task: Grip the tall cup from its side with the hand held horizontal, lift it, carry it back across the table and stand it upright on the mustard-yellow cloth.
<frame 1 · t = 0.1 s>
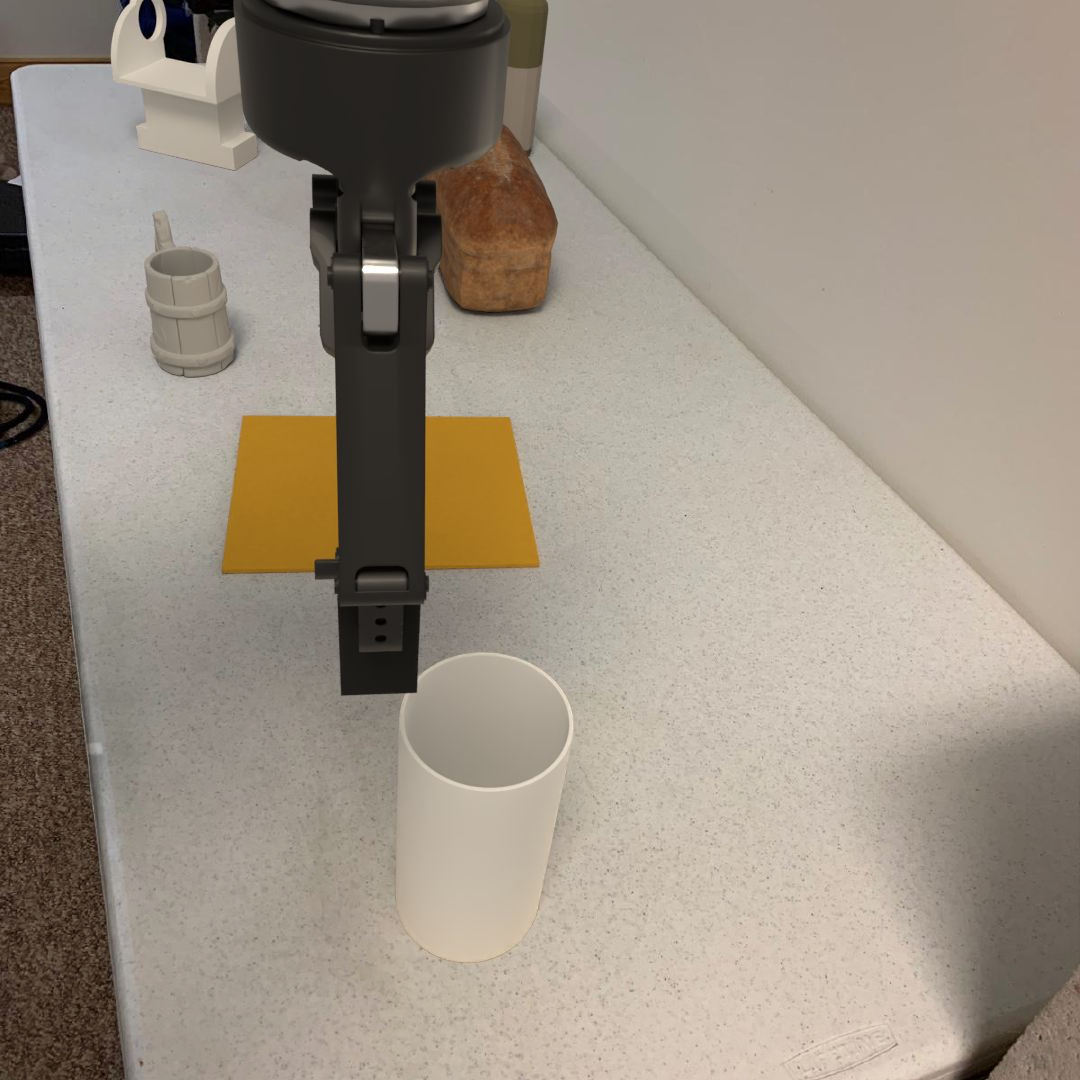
hand: (375, 559, 41), 25 cm above the table, tool pointing down, fingers open, 13 cm apart
bread: (477, 263, 116), on the table
apple: (371, 212, 124), on the table
bottle: (509, 153, 143), on the table
tape dispenser: (202, 151, 132), on the table
cup: (467, 894, 57), on the table
cloth: (382, 488, 83), on the table
mug: (189, 349, 96), on the table
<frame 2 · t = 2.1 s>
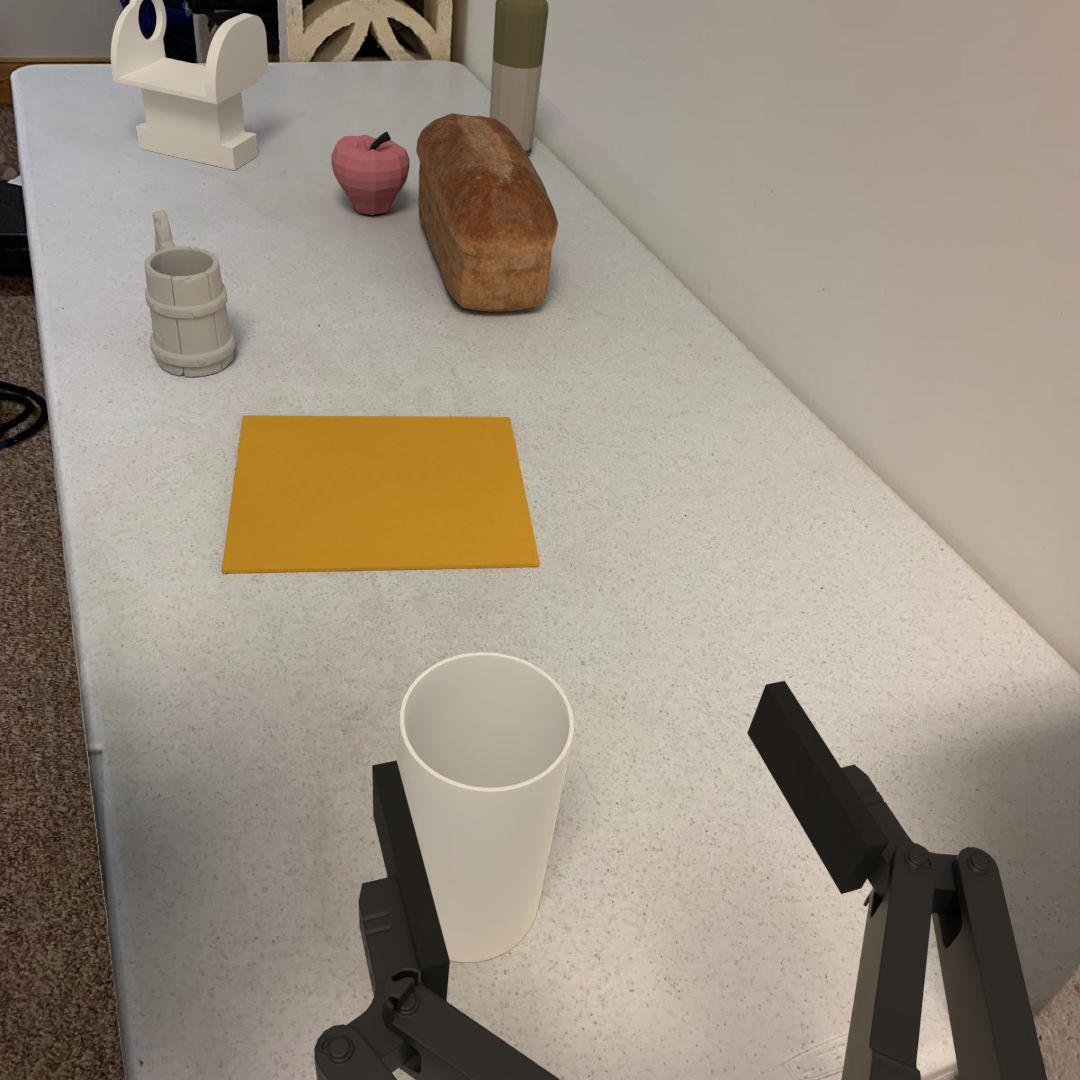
hand: (586, 744, 33), 26 cm above the table, tool horizontal, fingers open, 13 cm apart
nothing on the table moved.
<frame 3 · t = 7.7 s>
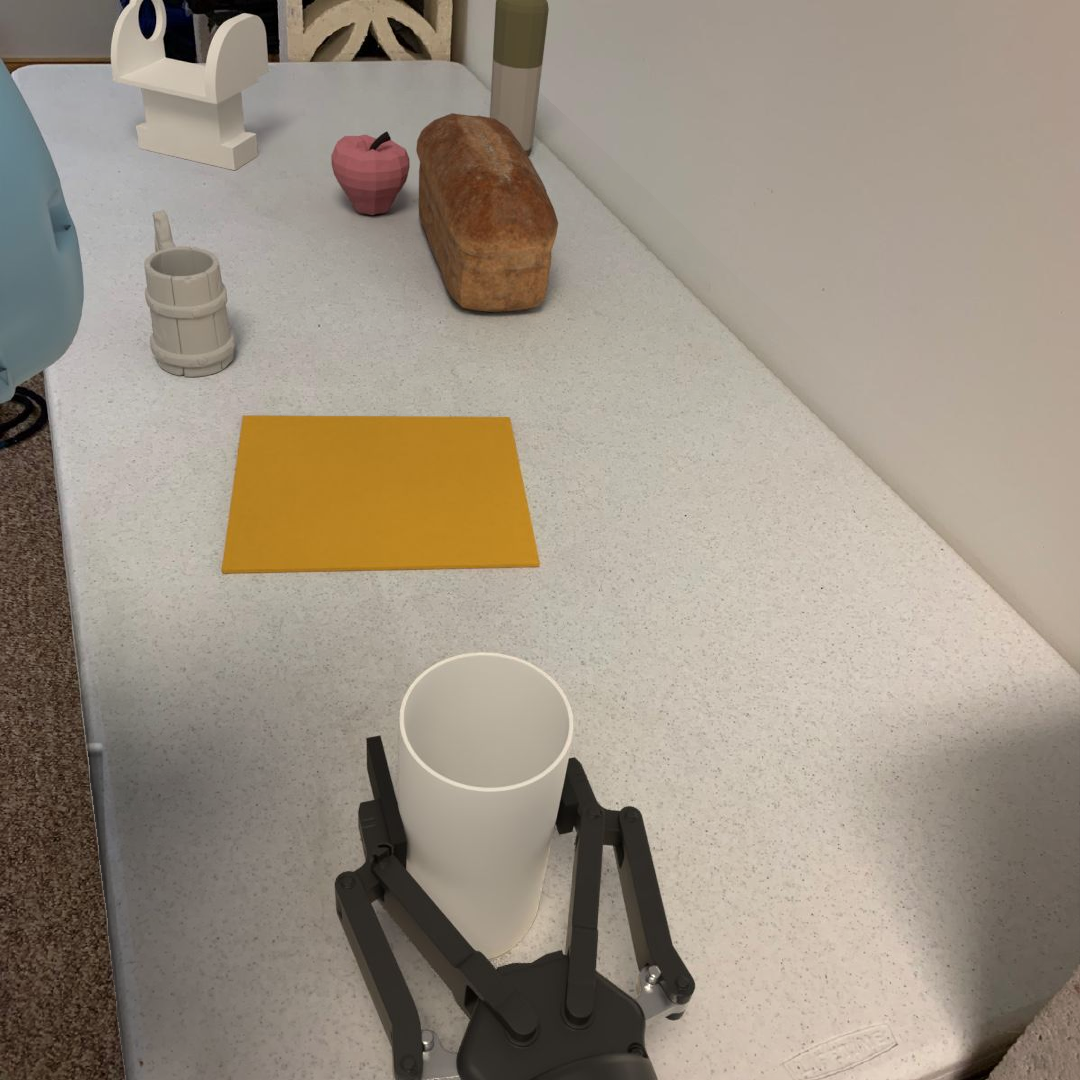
hand: (454, 736, 55), 8 cm above the table, tool horizontal, fingers closed on cup, 8 cm apart
cup: (467, 894, 57), on the table, touching gripper
everything else where it was.
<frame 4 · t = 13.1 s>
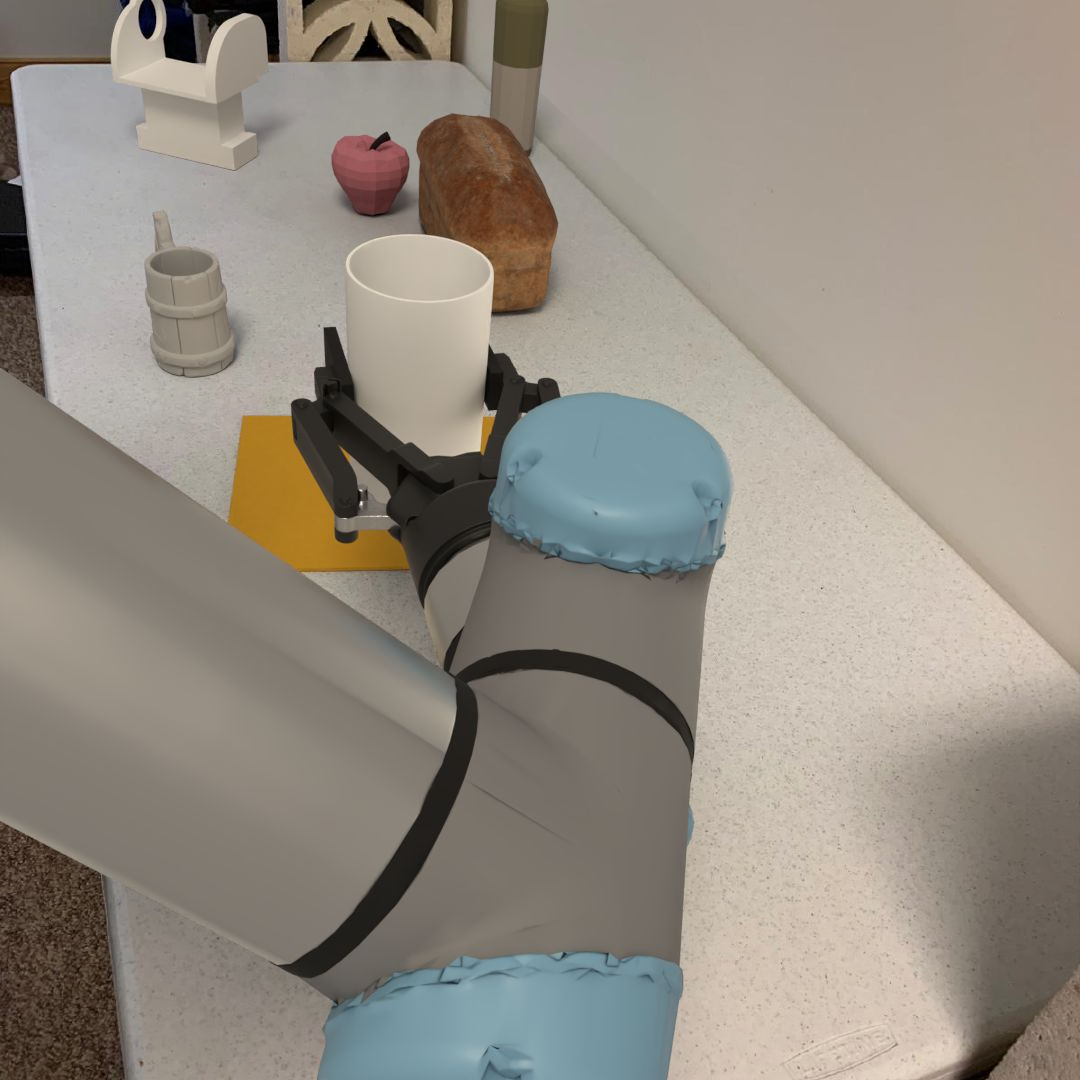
hand: (401, 341, 63), 20 cm above the table, tool horizontal, fingers closed on cup, 8 cm apart
cup: (414, 493, 66), point 11 cm above the table, touching gripper
everything else where it was.
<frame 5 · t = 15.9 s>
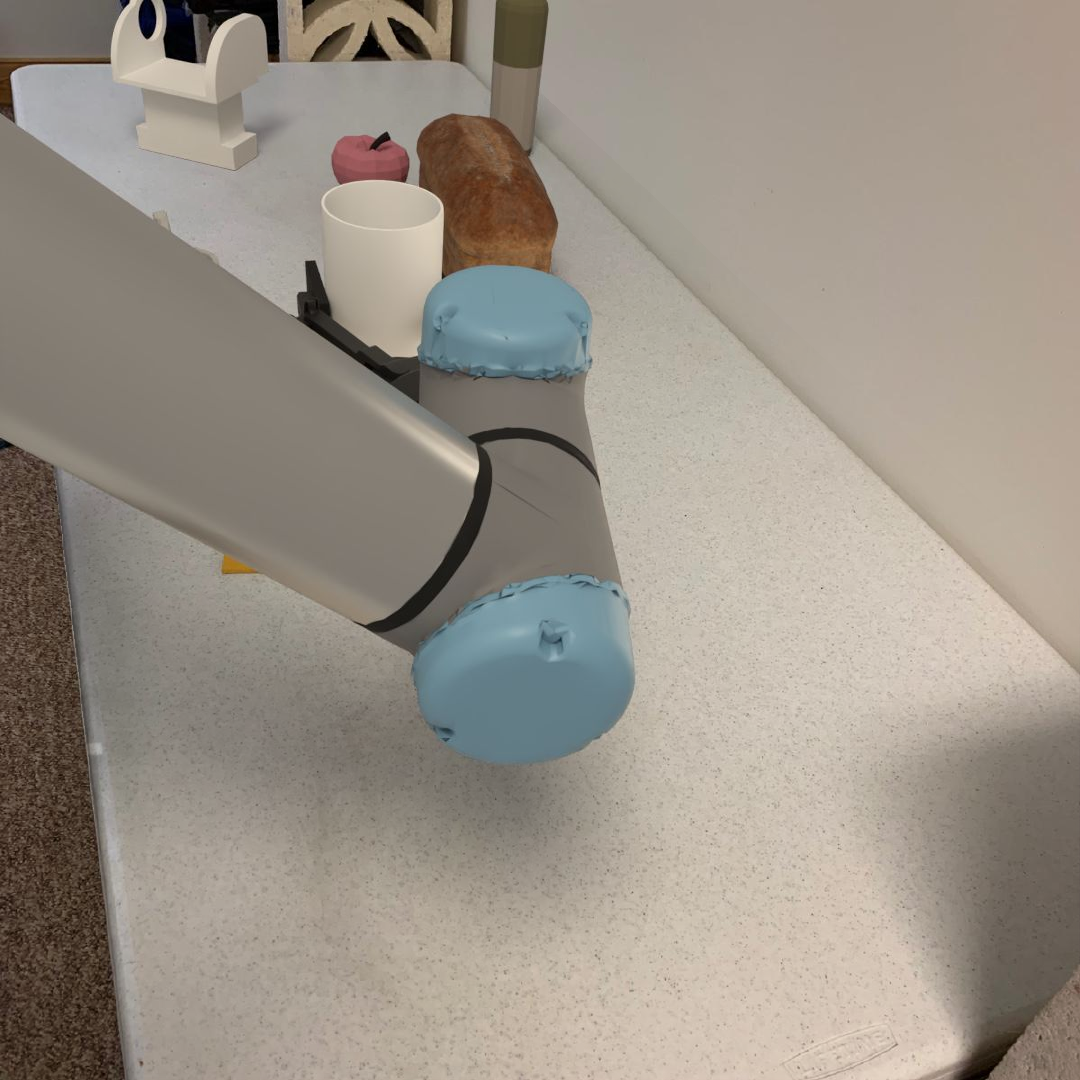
hand: (370, 274, 75), 17 cm above the table, tool horizontal, fingers closed on cup, 8 cm apart
cup: (383, 404, 77), point 9 cm above the table, touching gripper
everything else where it was.
when the fingers open (9 cm above the table, at t = 18.5 s): cup stays where it is, resting on cloth.
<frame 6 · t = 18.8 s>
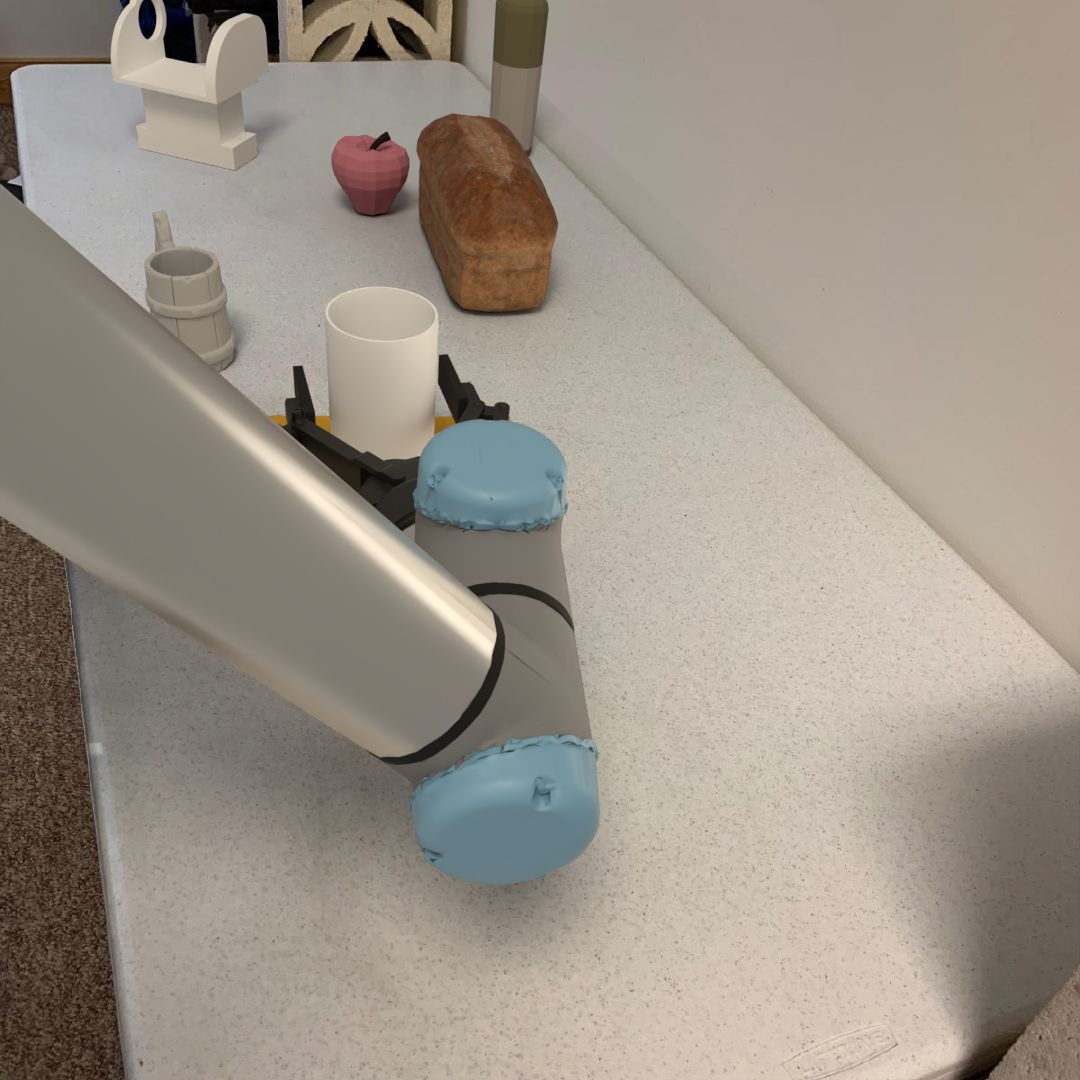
hand: (372, 374, 80), 9 cm above the table, tool horizontal, fingers open, 11 cm apart
cup: (382, 486, 83), resting on cloth
everything else where it was.
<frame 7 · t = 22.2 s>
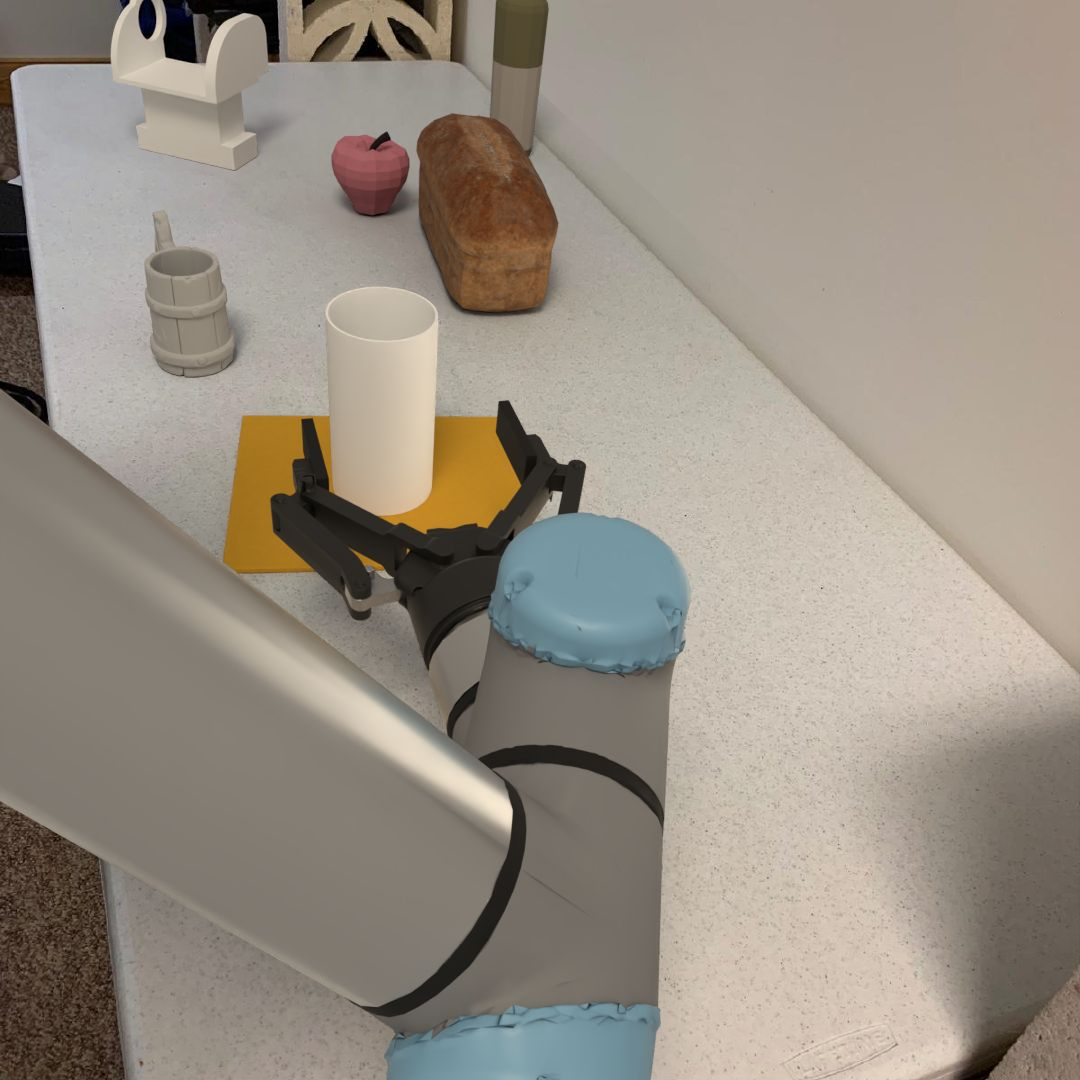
hand: (407, 425, 69), 13 cm above the table, tool horizontal, fingers open, 13 cm apart
nothing on the table moved.
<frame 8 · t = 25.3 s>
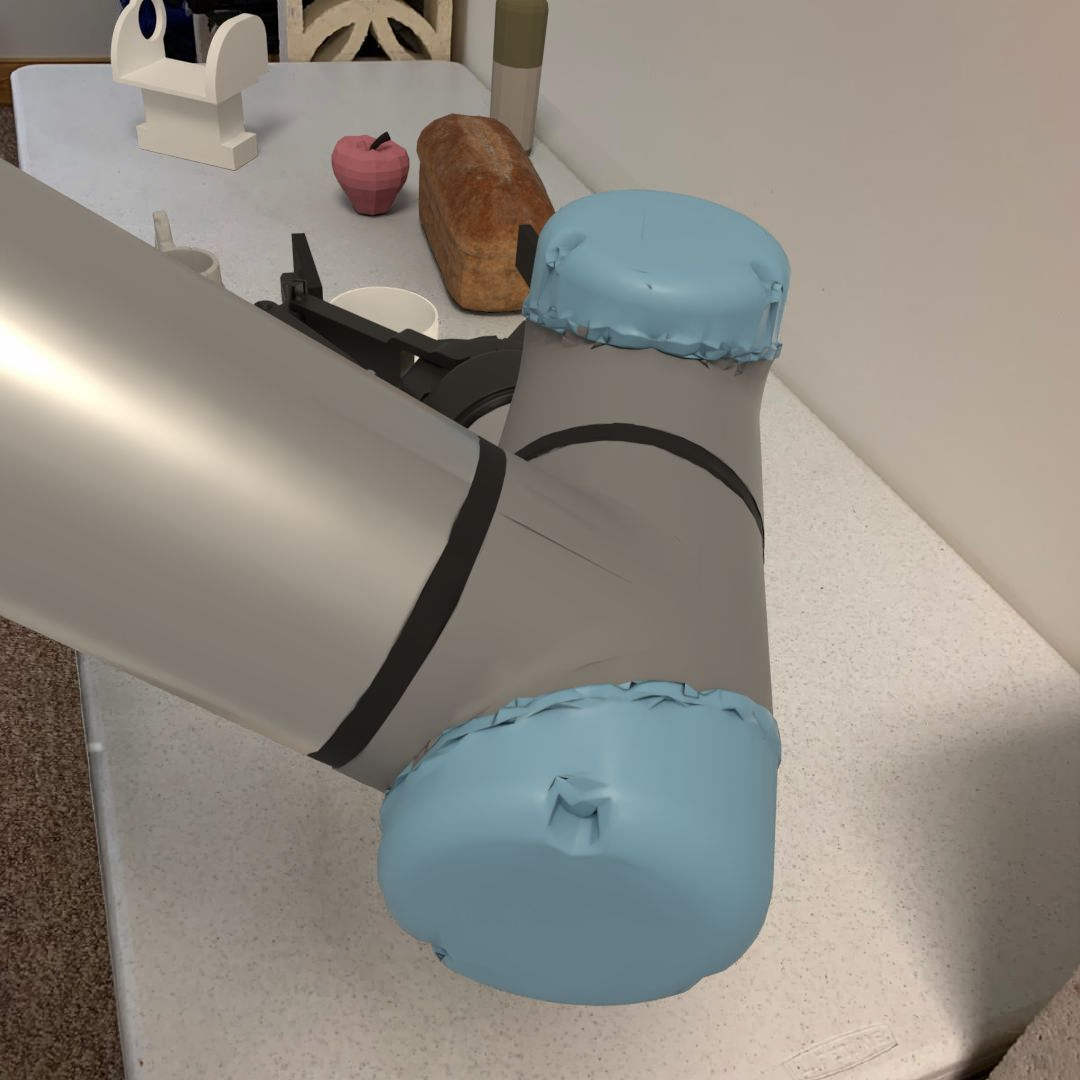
hand: (414, 249, 60), 26 cm above the table, tool horizontal, fingers open, 13 cm apart
nothing on the table moved.
at the end: cup inside the target area on the cloth (0.1 cm from its centre), point 0.2 cm above the cloth's base; cup tilted 0°; the gripper is holding nothing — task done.
